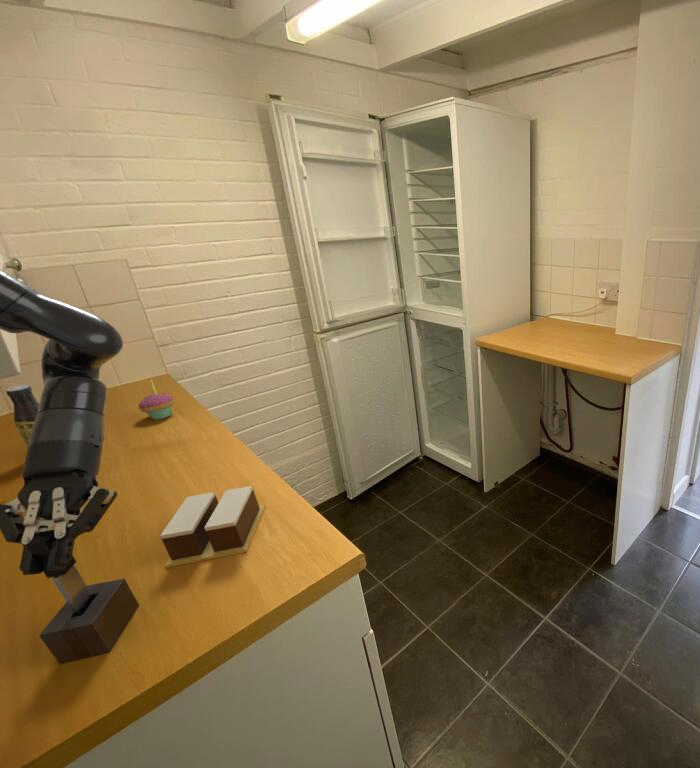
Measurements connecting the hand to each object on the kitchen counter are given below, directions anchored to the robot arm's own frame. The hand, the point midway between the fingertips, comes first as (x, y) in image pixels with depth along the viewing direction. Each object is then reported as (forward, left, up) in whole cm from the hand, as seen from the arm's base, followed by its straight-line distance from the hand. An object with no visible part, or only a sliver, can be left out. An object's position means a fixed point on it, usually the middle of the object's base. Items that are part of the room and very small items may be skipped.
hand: (45, 571), depth 55 cm
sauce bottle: (-32, +72, -15) cm, 80 cm away
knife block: (0, +2, -15) cm, 15 cm away
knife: (0, +2, -11) cm, 11 cm away
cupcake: (-12, +87, -15) cm, 89 cm away
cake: (+13, +18, -15) cm, 27 cm away
